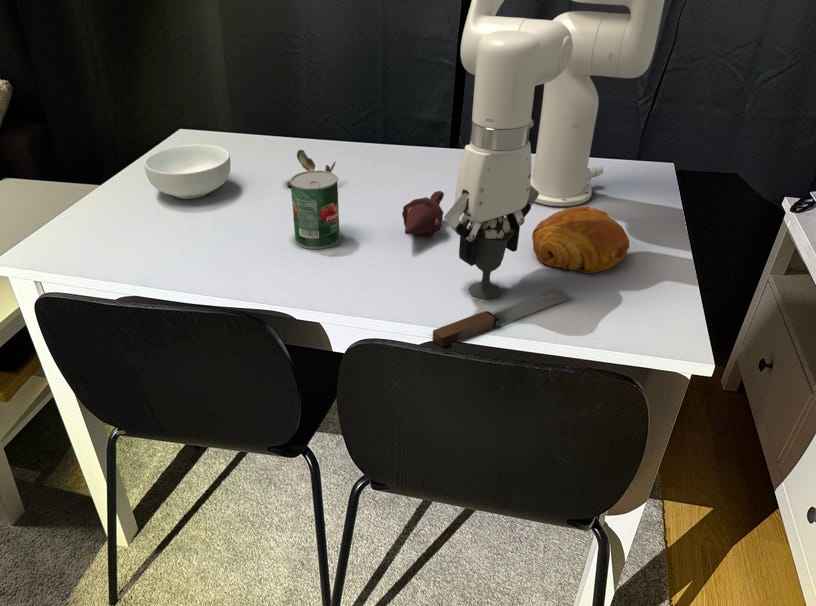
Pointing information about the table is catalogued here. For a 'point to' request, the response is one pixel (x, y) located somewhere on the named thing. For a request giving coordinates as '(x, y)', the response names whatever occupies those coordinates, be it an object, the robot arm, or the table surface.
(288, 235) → the table surface
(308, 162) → the eagle figurine
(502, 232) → the sundae
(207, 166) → the cereal bowl
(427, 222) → the icecream
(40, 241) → the table surface
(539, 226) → the croissant
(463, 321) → the knife
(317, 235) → the canned tomato
